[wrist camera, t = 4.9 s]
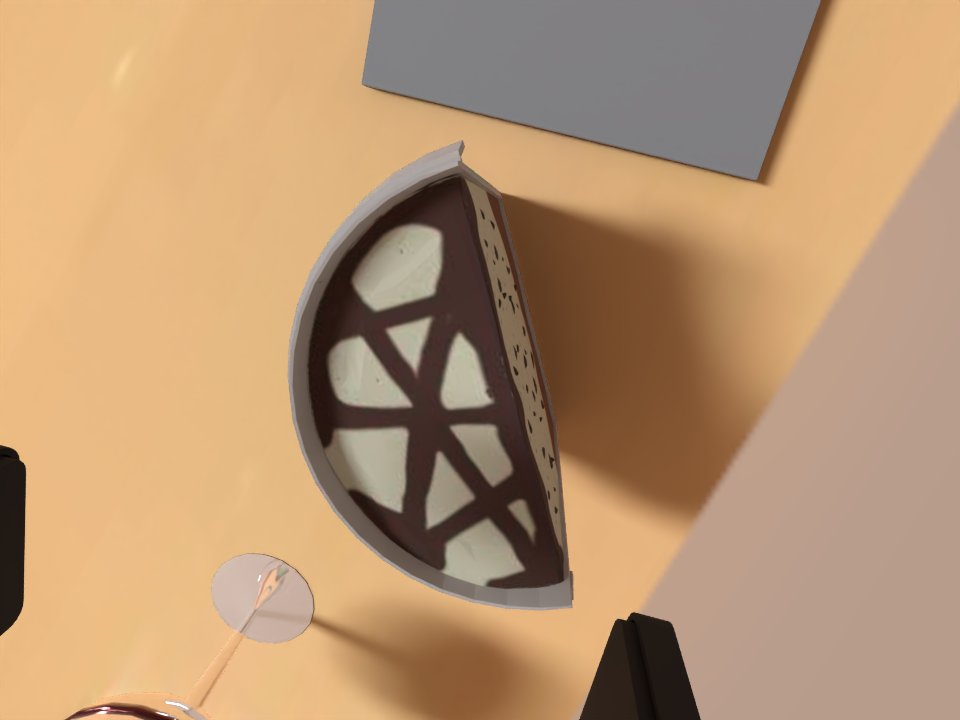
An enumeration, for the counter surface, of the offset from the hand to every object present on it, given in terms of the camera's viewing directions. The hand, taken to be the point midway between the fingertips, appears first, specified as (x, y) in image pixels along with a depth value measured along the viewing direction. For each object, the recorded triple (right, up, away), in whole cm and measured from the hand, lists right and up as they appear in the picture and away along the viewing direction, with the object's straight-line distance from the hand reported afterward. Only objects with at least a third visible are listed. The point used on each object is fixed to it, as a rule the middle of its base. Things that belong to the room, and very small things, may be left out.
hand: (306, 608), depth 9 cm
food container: (+2, +5, +15) cm, 16 cm away
